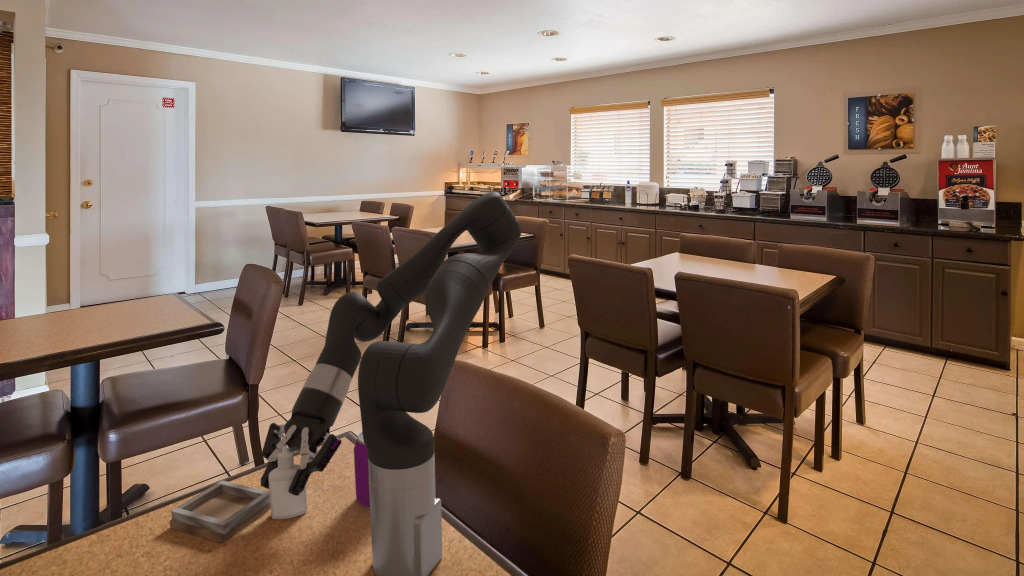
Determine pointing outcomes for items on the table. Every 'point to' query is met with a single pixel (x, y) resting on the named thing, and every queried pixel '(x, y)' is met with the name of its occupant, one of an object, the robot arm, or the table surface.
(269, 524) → the table surface
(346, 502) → the table surface
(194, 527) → the grey square tray
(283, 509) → the eye dropper bottle
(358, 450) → the beverage can
